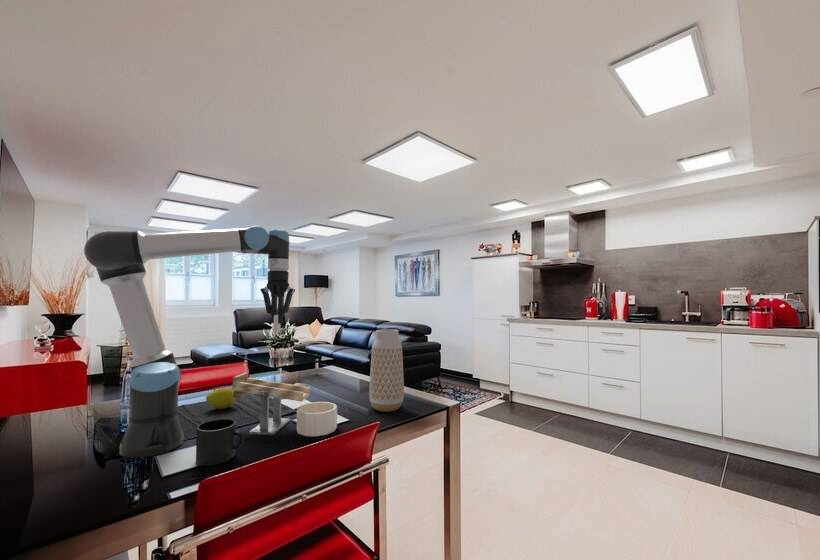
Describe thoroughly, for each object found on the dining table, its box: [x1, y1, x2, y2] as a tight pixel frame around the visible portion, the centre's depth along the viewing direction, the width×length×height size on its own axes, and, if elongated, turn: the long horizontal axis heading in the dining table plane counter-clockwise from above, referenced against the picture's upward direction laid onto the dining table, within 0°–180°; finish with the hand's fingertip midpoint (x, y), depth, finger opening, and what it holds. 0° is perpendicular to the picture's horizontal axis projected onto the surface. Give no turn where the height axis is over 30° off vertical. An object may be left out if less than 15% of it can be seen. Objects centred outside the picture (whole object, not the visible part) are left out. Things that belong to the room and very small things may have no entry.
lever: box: [231, 372, 311, 402], centre depth 124 cm, size 24×15×7 cm, turn 85°
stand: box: [248, 391, 291, 436], centre depth 120 cm, size 8×13×13 cm, turn 176°
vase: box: [368, 328, 405, 413], centre depth 141 cm, size 14×14×31 cm
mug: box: [195, 418, 245, 467], centre depth 97 cm, size 9×12×9 cm
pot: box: [296, 401, 338, 437], centre depth 119 cm, size 13×13×7 cm
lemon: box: [205, 387, 238, 410], centre depth 139 cm, size 11×8×8 cm
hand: (276, 332), depth 135 cm, fingers closed
